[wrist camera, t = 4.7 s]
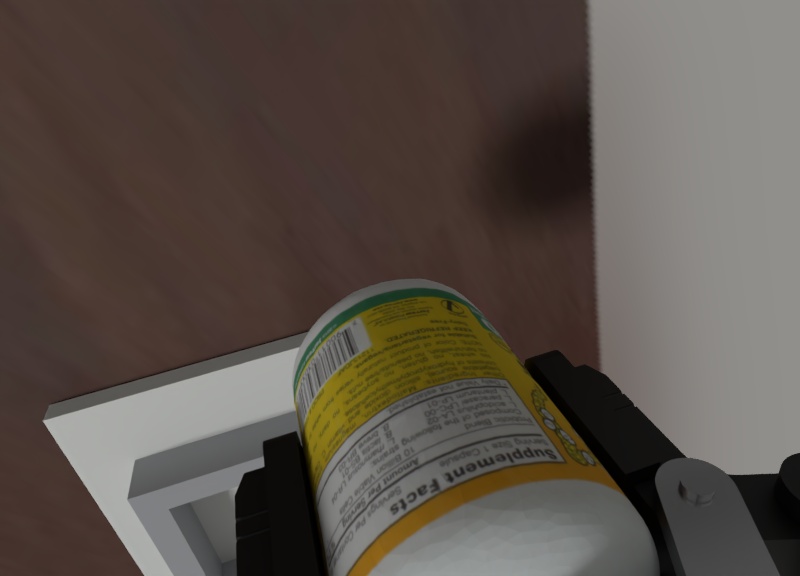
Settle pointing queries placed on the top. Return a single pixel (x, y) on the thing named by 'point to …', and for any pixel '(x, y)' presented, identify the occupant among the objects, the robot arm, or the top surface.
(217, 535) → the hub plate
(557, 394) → the robot arm
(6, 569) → the top surface
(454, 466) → the supplement bottle
